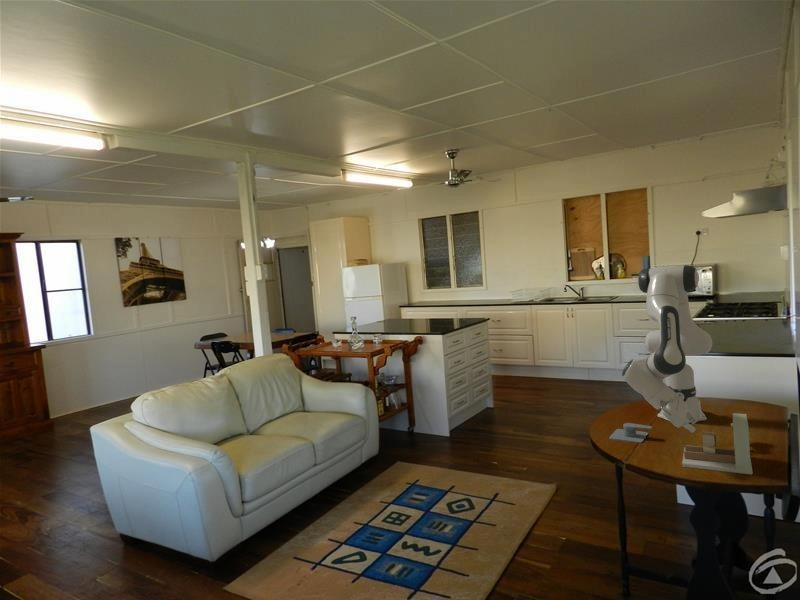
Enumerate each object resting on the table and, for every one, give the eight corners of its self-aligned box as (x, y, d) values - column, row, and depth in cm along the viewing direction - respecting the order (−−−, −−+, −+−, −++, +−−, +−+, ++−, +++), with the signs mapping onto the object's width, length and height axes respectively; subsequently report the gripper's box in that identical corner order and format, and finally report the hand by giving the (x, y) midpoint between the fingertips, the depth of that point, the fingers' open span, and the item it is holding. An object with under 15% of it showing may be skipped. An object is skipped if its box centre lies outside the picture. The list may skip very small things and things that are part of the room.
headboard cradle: (684, 450, 192) (682, 410, 191) (749, 456, 182) (747, 414, 181) (682, 466, 179) (680, 423, 178) (752, 474, 168) (750, 428, 167)
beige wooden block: (703, 455, 184) (702, 431, 183) (716, 456, 182) (715, 432, 181) (703, 458, 181) (702, 435, 180) (716, 460, 179) (715, 436, 178)
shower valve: (647, 431, 201) (607, 426, 210) (648, 445, 201) (608, 440, 210) (655, 422, 211) (616, 418, 220) (655, 435, 211) (617, 430, 220)
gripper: (666, 400, 177) (701, 430, 173) (670, 385, 194) (702, 412, 190) (652, 412, 180) (686, 442, 175) (658, 396, 197) (688, 423, 193)
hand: (694, 426), depth 183 cm, fingers open, 8 cm apart
